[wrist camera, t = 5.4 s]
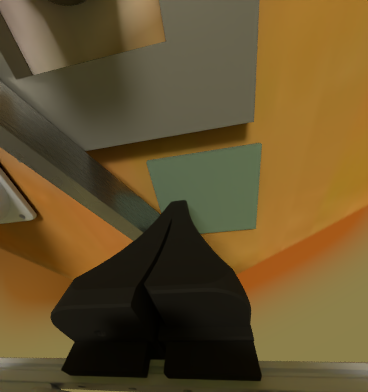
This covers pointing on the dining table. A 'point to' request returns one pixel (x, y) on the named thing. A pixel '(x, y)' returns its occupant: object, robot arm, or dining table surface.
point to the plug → (67, 2)
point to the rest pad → (212, 186)
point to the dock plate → (151, 79)
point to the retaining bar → (69, 166)
